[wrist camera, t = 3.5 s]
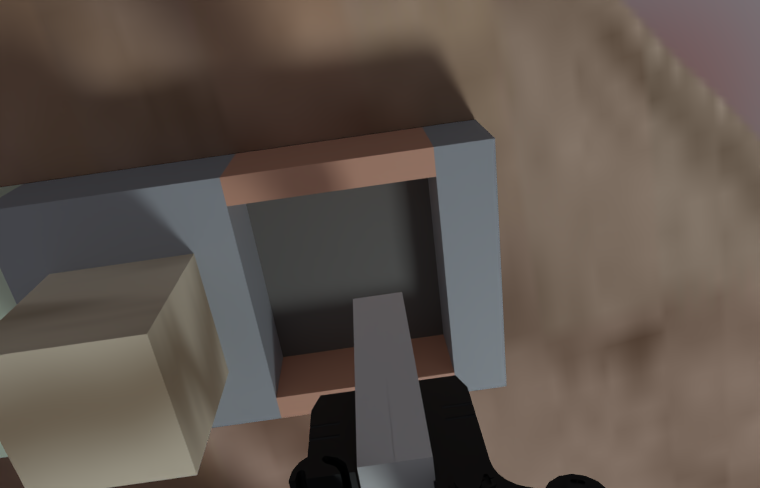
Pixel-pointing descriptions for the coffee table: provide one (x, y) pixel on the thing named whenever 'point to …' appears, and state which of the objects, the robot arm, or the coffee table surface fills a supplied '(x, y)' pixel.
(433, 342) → the trap runway
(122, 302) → the birch block
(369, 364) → the robot arm
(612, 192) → the coffee table surface
